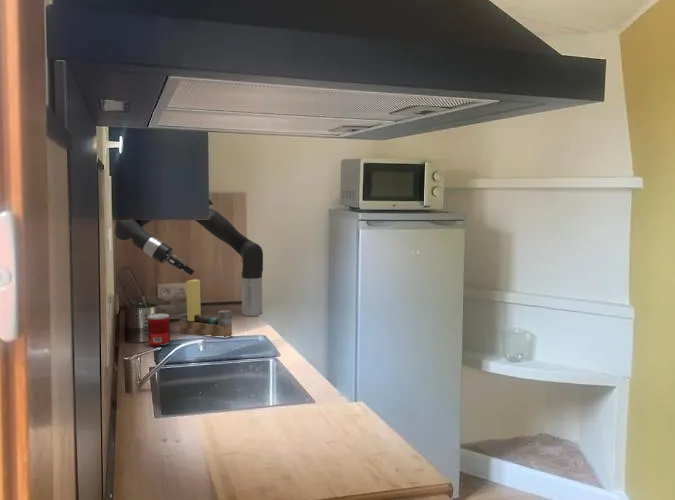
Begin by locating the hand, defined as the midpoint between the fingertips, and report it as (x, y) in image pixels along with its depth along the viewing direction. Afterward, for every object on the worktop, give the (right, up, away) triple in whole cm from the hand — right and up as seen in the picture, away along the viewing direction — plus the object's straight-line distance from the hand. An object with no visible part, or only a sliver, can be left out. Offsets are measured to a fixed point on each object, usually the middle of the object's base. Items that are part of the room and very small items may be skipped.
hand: (192, 273), depth 267 cm
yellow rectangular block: (0, -19, +2) cm, 19 cm away
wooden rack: (+5, -25, 0) cm, 25 cm away
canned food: (-9, -27, -15) cm, 32 cm away
